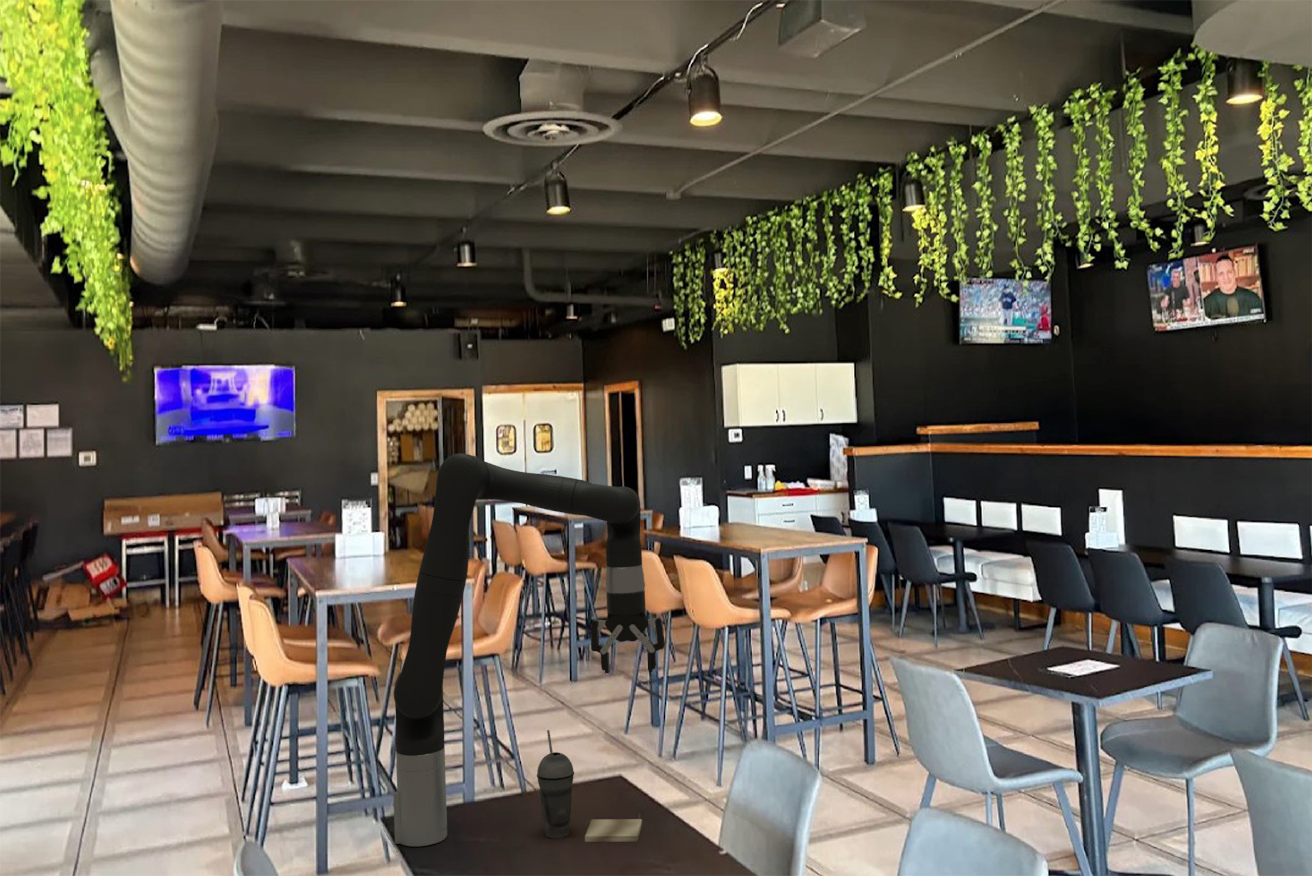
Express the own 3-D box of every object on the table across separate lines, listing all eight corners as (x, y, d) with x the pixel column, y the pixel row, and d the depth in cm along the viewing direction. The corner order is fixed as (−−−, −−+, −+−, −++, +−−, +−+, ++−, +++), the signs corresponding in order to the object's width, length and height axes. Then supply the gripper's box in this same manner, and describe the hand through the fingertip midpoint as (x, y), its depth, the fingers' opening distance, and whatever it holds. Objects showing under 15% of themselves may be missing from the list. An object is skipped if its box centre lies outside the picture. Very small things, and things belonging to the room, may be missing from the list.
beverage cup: (570, 842, 193) (566, 735, 194) (533, 840, 195) (530, 735, 195) (580, 828, 200) (577, 725, 201) (545, 826, 202) (541, 725, 202)
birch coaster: (584, 841, 193) (584, 836, 193) (591, 824, 202) (591, 819, 202) (637, 841, 192) (637, 836, 192) (642, 824, 201) (641, 819, 201)
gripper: (586, 592, 196) (590, 677, 196) (660, 590, 195) (664, 675, 195) (592, 587, 204) (595, 669, 203) (663, 585, 202) (666, 667, 202)
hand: (629, 672), depth 199 cm, fingers open, 8 cm apart
